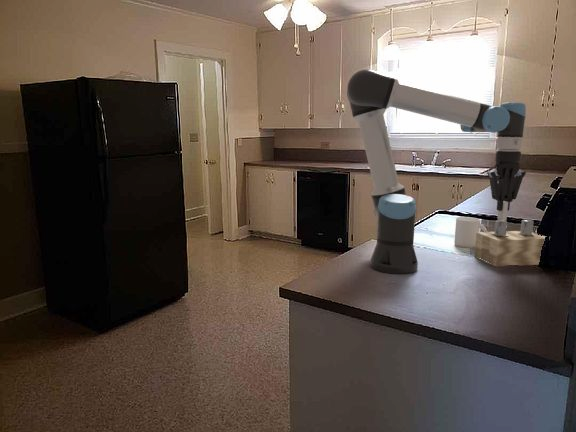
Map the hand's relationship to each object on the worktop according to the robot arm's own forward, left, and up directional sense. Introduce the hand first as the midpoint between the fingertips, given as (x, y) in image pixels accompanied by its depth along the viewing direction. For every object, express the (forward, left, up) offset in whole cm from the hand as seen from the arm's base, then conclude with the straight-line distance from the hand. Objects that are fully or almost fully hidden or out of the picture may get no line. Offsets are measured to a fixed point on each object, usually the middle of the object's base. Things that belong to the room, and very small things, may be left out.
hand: (501, 220), depth 149 cm
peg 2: (+10, 0, -10) cm, 14 cm away
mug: (+2, +20, -15) cm, 25 cm away
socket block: (+5, 0, -15) cm, 15 cm away
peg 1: (0, 0, -10) cm, 10 cm away
